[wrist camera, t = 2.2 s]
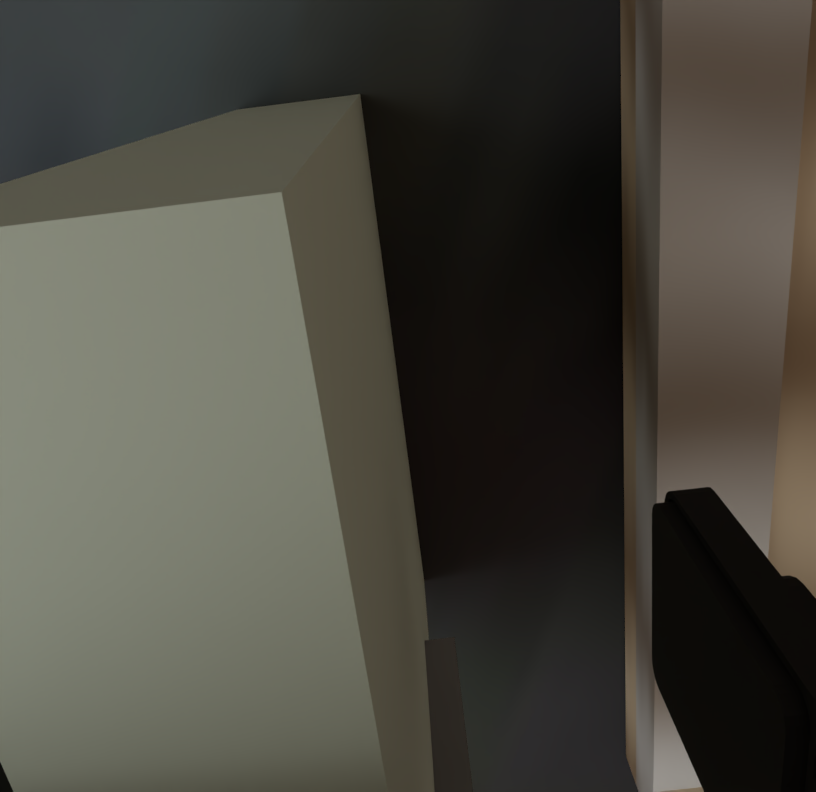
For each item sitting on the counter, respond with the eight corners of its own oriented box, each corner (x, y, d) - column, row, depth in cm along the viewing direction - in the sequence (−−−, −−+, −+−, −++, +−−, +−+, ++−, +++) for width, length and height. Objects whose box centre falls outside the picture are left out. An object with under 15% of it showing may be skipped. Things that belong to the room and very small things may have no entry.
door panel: (237, 109, 16) (-227, 254, 4) (389, 90, 16) (403, 177, 4) (330, 591, 20) (252, 1330, 9) (446, 577, 20) (534, 1305, 8)
